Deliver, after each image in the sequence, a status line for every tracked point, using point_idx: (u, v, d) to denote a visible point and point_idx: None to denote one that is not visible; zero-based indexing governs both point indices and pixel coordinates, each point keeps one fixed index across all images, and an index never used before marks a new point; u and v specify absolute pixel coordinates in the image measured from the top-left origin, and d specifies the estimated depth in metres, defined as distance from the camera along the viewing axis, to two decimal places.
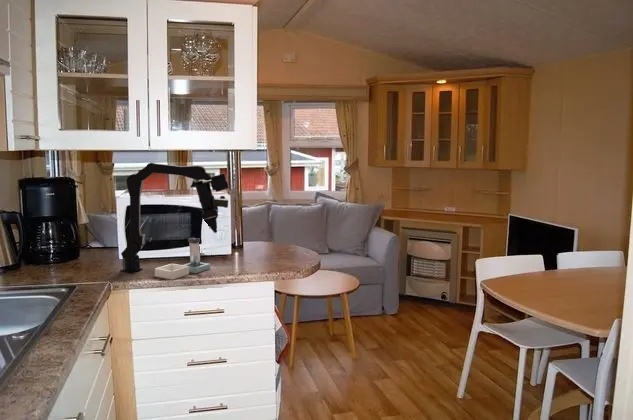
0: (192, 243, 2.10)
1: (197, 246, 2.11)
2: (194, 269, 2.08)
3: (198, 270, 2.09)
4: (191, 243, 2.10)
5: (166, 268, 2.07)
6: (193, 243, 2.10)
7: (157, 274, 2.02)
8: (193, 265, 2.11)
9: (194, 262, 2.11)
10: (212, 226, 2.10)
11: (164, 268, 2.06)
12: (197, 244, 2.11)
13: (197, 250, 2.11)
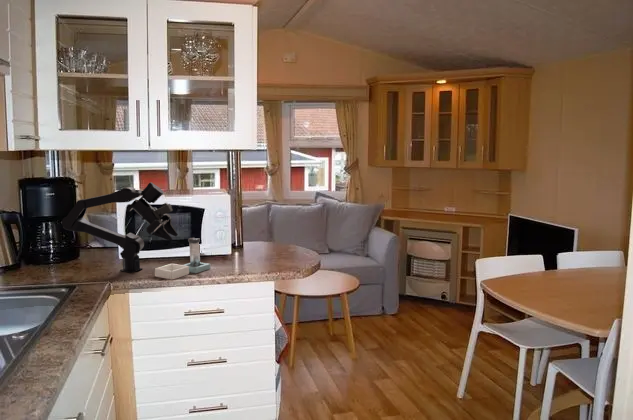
0: (192, 243, 2.10)
1: (197, 246, 2.11)
2: (194, 269, 2.08)
3: (198, 270, 2.09)
4: (191, 243, 2.10)
5: (166, 268, 2.07)
6: (193, 243, 2.10)
7: (157, 274, 2.02)
8: (193, 265, 2.11)
9: (194, 262, 2.11)
10: (164, 236, 2.05)
11: (164, 268, 2.06)
12: (197, 244, 2.11)
13: (197, 250, 2.11)
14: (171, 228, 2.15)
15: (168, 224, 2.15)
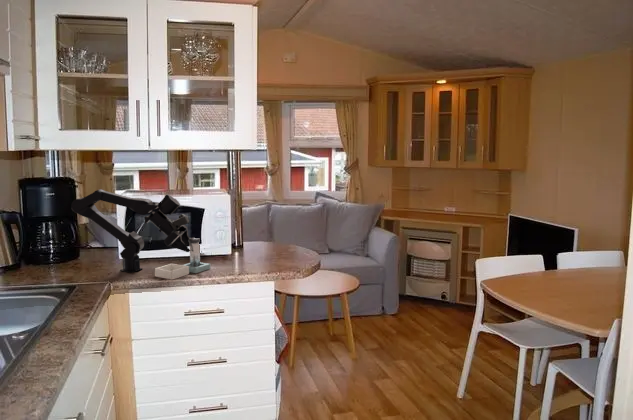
0: (192, 243, 2.10)
1: (197, 246, 2.11)
2: (194, 269, 2.08)
3: (198, 270, 2.09)
4: (191, 243, 2.10)
5: (166, 268, 2.07)
6: (193, 243, 2.10)
7: (157, 274, 2.02)
8: (193, 265, 2.11)
9: (194, 262, 2.11)
10: (182, 247, 2.06)
11: (164, 268, 2.06)
12: (197, 244, 2.11)
13: (197, 250, 2.11)
14: None
15: (185, 235, 2.16)
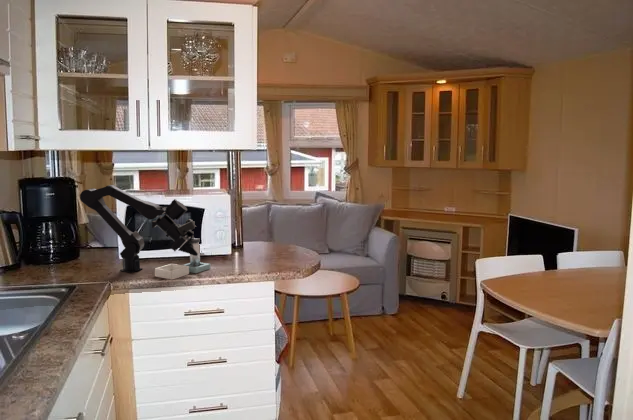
0: (192, 243, 2.10)
1: (197, 246, 2.11)
2: (194, 269, 2.08)
3: (198, 270, 2.09)
4: (191, 243, 2.10)
5: (166, 268, 2.07)
6: (193, 243, 2.10)
7: (157, 274, 2.02)
8: (193, 265, 2.11)
9: (194, 262, 2.11)
10: (190, 251, 2.09)
11: (164, 268, 2.06)
12: (197, 244, 2.11)
13: (197, 250, 2.11)
14: None
15: None
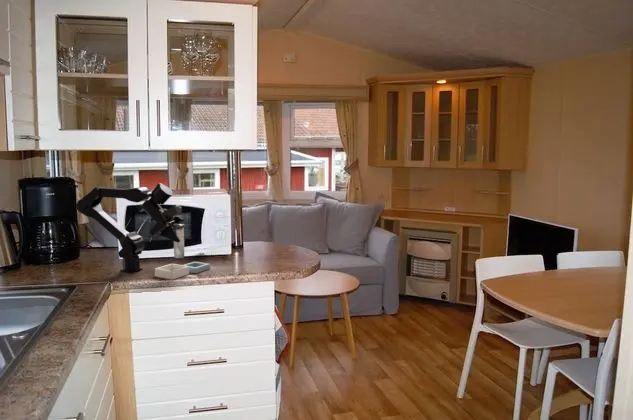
0: (175, 229, 2.03)
1: (179, 233, 2.03)
2: (194, 269, 2.08)
3: (198, 270, 2.09)
4: (174, 229, 2.03)
5: (166, 268, 2.07)
6: (176, 229, 2.03)
7: (157, 274, 2.02)
8: (176, 252, 2.04)
9: (177, 249, 2.04)
10: (172, 237, 2.02)
11: (164, 268, 2.06)
12: (180, 230, 2.03)
13: (180, 237, 2.03)
14: None
15: None
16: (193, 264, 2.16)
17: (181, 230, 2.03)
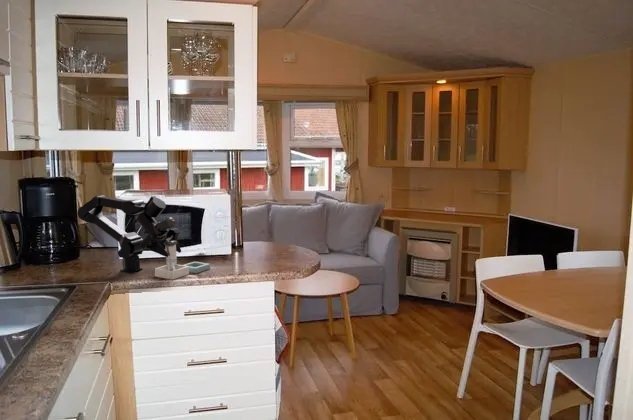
0: (166, 246, 2.02)
1: (171, 250, 2.02)
2: (194, 269, 2.08)
3: (198, 270, 2.09)
4: (166, 246, 2.02)
5: (166, 268, 2.07)
6: (167, 246, 2.01)
7: (157, 274, 2.02)
8: (168, 269, 2.03)
9: (169, 266, 2.02)
10: (160, 252, 1.99)
11: (164, 268, 2.06)
12: (172, 247, 2.02)
13: (171, 253, 2.02)
14: None
15: (173, 239, 2.08)
16: (193, 264, 2.16)
17: (172, 247, 2.02)
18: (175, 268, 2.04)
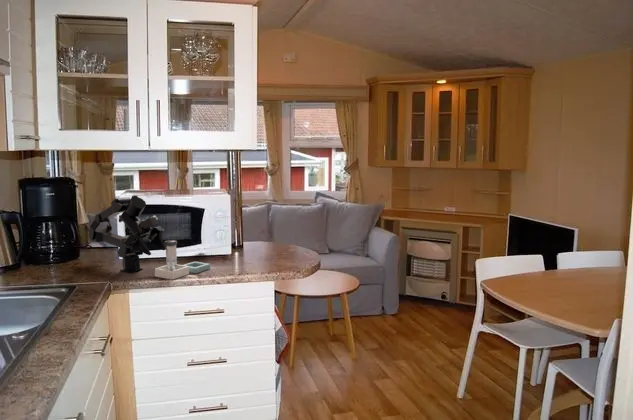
0: (167, 246, 2.02)
1: (171, 250, 2.02)
2: (194, 269, 2.08)
3: (198, 270, 2.09)
4: (166, 246, 2.02)
5: (166, 268, 2.07)
6: (167, 246, 2.01)
7: (157, 274, 2.02)
8: (168, 269, 2.03)
9: (169, 266, 2.02)
10: (143, 250, 2.01)
11: (164, 268, 2.06)
12: (172, 247, 2.02)
13: (172, 254, 2.02)
14: (160, 242, 2.11)
15: (157, 237, 2.11)
16: (193, 264, 2.16)
17: (173, 247, 2.02)
18: (175, 268, 2.04)
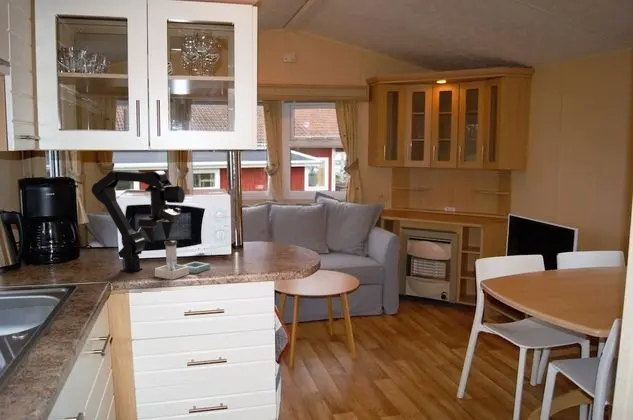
0: (167, 246, 2.02)
1: (171, 250, 2.02)
2: (194, 269, 2.08)
3: (198, 270, 2.09)
4: (166, 246, 2.02)
5: (166, 268, 2.07)
6: (167, 246, 2.01)
7: (157, 274, 2.02)
8: (168, 269, 2.03)
9: (169, 266, 2.02)
10: (149, 236, 2.02)
11: (164, 268, 2.06)
12: (172, 247, 2.02)
13: (172, 254, 2.02)
14: (168, 229, 2.11)
15: (169, 224, 2.11)
16: (193, 264, 2.16)
17: (173, 247, 2.02)
18: (175, 268, 2.04)
